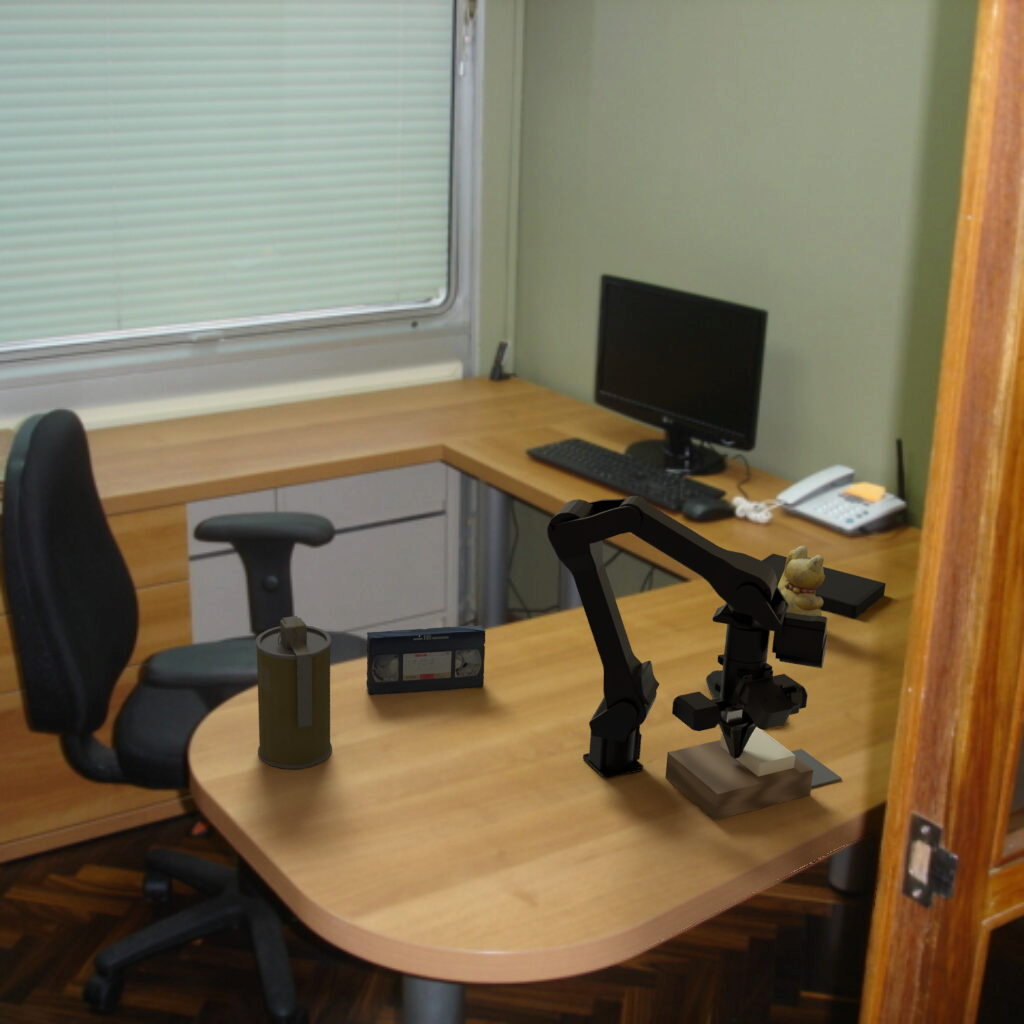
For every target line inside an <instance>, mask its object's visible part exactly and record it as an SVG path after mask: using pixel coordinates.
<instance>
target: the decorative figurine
mask: <svg viewBox="0 0 1024 1024" xmlns="http://www.w3.org/2000/svg"><path fill="white" fill-rule="evenodd" d="M808 552H809V551H808V549H807V547H806V545H799V546H798V547H797V548H795V549H792V550H790V551H789V552H788V554H787V556H786V557H787V560H786V564H785V570H784V572H783V575H782V577H781V579H780V582H779V584H778V588H779V590H780V591H781V593H782V594H783V596H784V598H785V599H786V601H787V602H788V604H789V608H788V612H789V613H796V614H802V615H809V616H822V615H823V614H822V610H821V609H820V607H822V606H823V603H824V602H823V599H822V598H821V597H819V596H816V593H815V589H816V588H818V587H819V586H820V585H821V584H822V583H823V582H824V580H825V575H824V571H823V567H824V566H823V564H824V562H825V561H824V560H825V559H824V556H822V555H821V554H817V555H815V556H813V557H808Z"/></svg>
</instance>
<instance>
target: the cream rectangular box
mask: <svg viewBox="0 0 1024 1024" xmlns="http://www.w3.org/2000/svg"><path fill="white" fill-rule="evenodd" d="M720 735H721V736H720V740H721V743H720V746H721V747H722V748H723V749H724V750H726V751H727V752H728V753H729V750H728V747H727V744H726V742H725V739H724V736H723V733H722V732H721V734H720ZM791 751H792V750H789V749H788V748H786V747H785V746H784V745H783V744H781V743H780V742H779V741H777V740H776V739H774V738H773V737H772V736H770V735H769V734H768V733H767V732H765V730H763V729H759V728H758V727H756V728H755V730H754V731H753V733H752V735H751V736H750V738H749V740H748V742H747V744H746V746H745V748H744V750H743V752H742V754H741V756H740V757H739V758H736V759H737V760H738V761H739V762H741V763H742V764H743V765H744V766H746V767H747V768H748V769H749V770H751V771H752V772H753V773H754V774H756V775H757V776H758V777H759V776H763V775H767V774H771V773H775V772H779V771H783V770H787V769H792V768H794V763H795V754H793V753H792V752H791ZM729 754H730V753H729Z"/></svg>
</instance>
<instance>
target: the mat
mask: <svg viewBox="0 0 1024 1024" xmlns="http://www.w3.org/2000/svg"><path fill="white" fill-rule="evenodd" d="M790 751H791V752H792V753H793V754H795V756H796V757H797V758H798V759H800V760H801V761H802V762H804V763H805V764H806V765H808V766H809V767H810V768H812V769H813V777H812V784H811V789H812V788H815V787H819V786H824V785H829V784H831V783H834V782H839V781H842V780H843V778H842V777H841V776H839V775H838V774H837V773H836V772H835V771H833V770H831V769H830V768H828V767H827V766H826V765H825V764H823V763H822V762H820V761H819V760H817V759H816V758H815V757H814V756H812V755H811V754H809V753H808V752H806V750H804V749H802V748H799V749H794V750H790Z"/></svg>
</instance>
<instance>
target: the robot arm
mask: <svg viewBox="0 0 1024 1024" xmlns="http://www.w3.org/2000/svg"><path fill="white" fill-rule="evenodd" d="M629 533H630V534H632V535H633V536H635V537H637V538H638V539H640V540H642V541H644V542H645V543H647V544H648V545H650V546H652V547H653V548H655V549H656V550H658V551H660V552H662V554H664V555H666V556H668V558H669V557H670V558H671V559H673V560H674V561H676V562H677V563H679V564H681V565H683V566H684V567H685V568H686V569H687V568H688V570H690V571H692V572H693V573H695V574H697V575H699V576H700V577H702V578H703V579H704V580H705V581H706V582H707V583H708V584H709V585H710V586H711V588H712V589H713V590H714V591H715V593H716V595H718V596H719V597H720V599H722V600H723V601H724V602H725V603H724V604H723V605H721V606H719V607H718V608H717V609H716V610H715V612H714V615H713V617H712V621H713V622H714V623H719V624H725V625H726V633H725V643H724V653H723V654H718V655H717V663H718V664H719V665H721V666H722V680H721V682H716V683H715V690H716V691H718V692H719V693H720V697H718V698H713V697H712V698H709V697H708V696H706V695H704V693H703V692H700V691H695V692H690V693H685V694H680V695H679V694H678V696H676V697H675V698H673V702H672V708H671V709H672V711H671V714H672V715H673V716H675V718H677V719H678V720H679V721H681V722H682V723H683V724H684V725H686V726H687V727H688V728H689V729H691V731H695V732H702V731H703V732H704V731H707V730H711V729H716V727H717V726H719V728H720V730H721V734H722V733H723V736H724V739H725V742H726V744H727V747H728V750H729V753H730V755H731V756H732V757H733V758H734V759H736V758H739V757H740V756H741V754H742V752H743V750H744V748H745V746H746V744H747V742H748V740H749V738H750V736H751V735H752V733H753V731H754V730H755V728H756V727H758V728H759V729H761V730H763V731H765V730H769V728H773V727H778V726H779V727H782V726H785V725H786V724H787V722H788V719H789V717H790V716H792V715H797V714H799V712H800V710H801V709H806V707H807V703H808V695H809V694H808V692H807V689H806V687H804V685H802V684H801V683H799V682H797V681H796V680H794V679H793V678H792V677H790V676H788V675H787V674H785V673H782V674H777V675H774V670H773V666H772V665H771V664H769V662H768V652H769V644H770V643H769V642H770V635H771V634H770V633H771V632H773V638H772V639H773V640H772V649H771V652H772V653H773V654H775V659H776V660H778V661H779V662H781V663H787V664H794V665H798V666H806V667H810V668H816V669H823V666H824V661H825V656H826V650H827V643H828V636H829V635H828V633H827V630H828V627H827V626H828V625H827V624H828V617H827V616H809V615H802V614H796V613H789V612H788V608H789V604H788V602H787V601H786V599H785V598H784V596H783V594H782V593H781V591H780V590H779V588H778V586H777V578H776V574H775V571H774V569H773V568H772V567H771V566H770V565H769V564H767V563H766V562H764V561H762V559H758V558H756V557H753V556H751V555H748V554H746V553H743V552H739V551H734V550H733V551H732V550H728V549H726V548H723V547H721V546H719V545H717V544H715V543H714V542H712V541H710V540H709V539H708V538H705V537H704V536H703V535H701V534H699V533H697V532H696V531H694V530H692V529H691V528H689V526H686V525H685V524H683V523H681V522H679V521H678V520H676V519H674V518H673V517H671V516H670V515H668V514H666V513H665V512H663V511H662V510H660V509H658V508H656V507H655V506H653V505H652V504H651V503H649V502H648V501H647V500H646V499H645V498H644V497H642V496H640V495H631V496H627V497H623V498H604V499H603V498H602V499H599V500H597V499H596V500H594V501H587V500H583V499H580V498H579V499H578V498H577V499H572V500H570V501H568V502H566V503H565V504H564V505H563V506H562V507H561V508H560V509H559V510H558V511H557V512H556V514H555V515H554V516H553V517H551V519H550V521H549V523H548V525H547V528H546V535H547V538H548V541H549V544H550V545H551V547H552V548H553V550H554V552H555V555H556V556H557V559H558V560H559V561H560V562H561V564H562V565H563V566H565V568H566V569H567V570H568V571H569V572H570V574H571V575H572V578H573V580H574V583H575V586H576V589H577V593H578V596H579V599H580V601H581V604H582V606H583V608H582V609H583V610H584V613H585V616H586V619H587V622H588V625H589V629H590V630H591V634H592V637H593V640H594V643H595V647H596V650H597V652H598V656H599V659H600V661H601V664H602V668H603V691H602V692H603V698H602V700H601V701H600V703H599V705H598V706H597V708H596V710H595V712H594V714H593V715H592V717H591V719H590V721H589V723H588V724H589V729H590V738H589V751H588V752H587V753H584V754H583V756H582V759H583V760H584V761H585V762H586V763H587V764H588V765H589V766H591V767H592V768H593V769H594V770H595V771H596V772H597V773H598V774H599V775H600V776H601V777H602V778H604V779H610V778H614V777H618V776H623V775H626V774H631V773H635V772H639V771H643V769H644V765H643V764H642V763H641V762H640V761H639V760H640V758H641V751H642V750H641V749H642V748H641V747H642V738H643V737H642V735H643V734H642V733H641V732H640V731H641V725H642V724H644V722H645V720H646V718H647V717H648V715H649V713H650V710H651V709H652V706H653V705H654V703H655V701H656V698H657V693H658V691H657V690H658V689H659V686H660V682H658V680H657V679H656V677H655V675H654V670H653V669H654V668H653V664H652V661H651V660H647V661H644V662H642V661H640V660H639V658H637V657H636V656H637V655H635V653H634V651H633V649H632V645H631V643H630V640H629V636H628V634H627V630H626V628H625V625H624V622H623V619H622V616H621V615H622V614H621V612H620V610H619V606H618V603H617V600H616V597H615V594H614V592H613V591H614V590H613V589H612V588H613V587H612V585H611V582H610V579H609V577H608V573H607V570H606V567H605V564H604V558H603V557H604V541H605V540H607V539H610V538H613V537H616V536H618V535H624V534H629ZM767 662H768V663H767Z"/></svg>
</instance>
